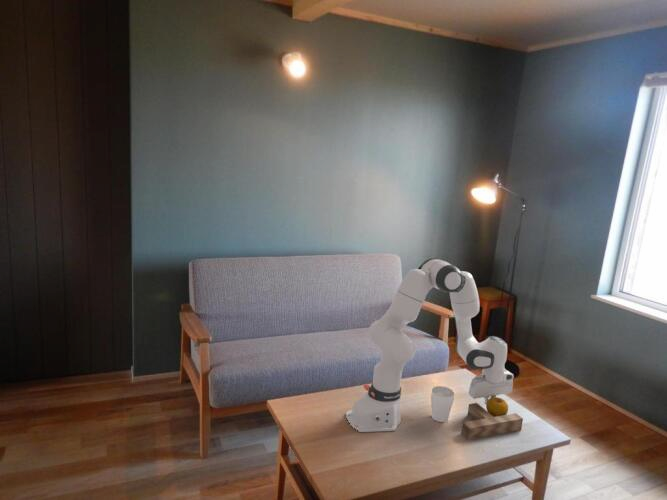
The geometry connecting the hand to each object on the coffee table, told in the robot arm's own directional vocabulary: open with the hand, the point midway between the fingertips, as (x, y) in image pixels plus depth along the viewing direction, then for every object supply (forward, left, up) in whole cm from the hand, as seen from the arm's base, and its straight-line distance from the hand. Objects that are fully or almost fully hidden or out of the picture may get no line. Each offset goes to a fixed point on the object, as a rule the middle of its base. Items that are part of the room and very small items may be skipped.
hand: (488, 404), depth 195 cm
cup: (-23, +1, -4) cm, 23 cm away
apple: (0, -5, -4) cm, 6 cm away
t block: (-8, -8, -4) cm, 12 cm away
